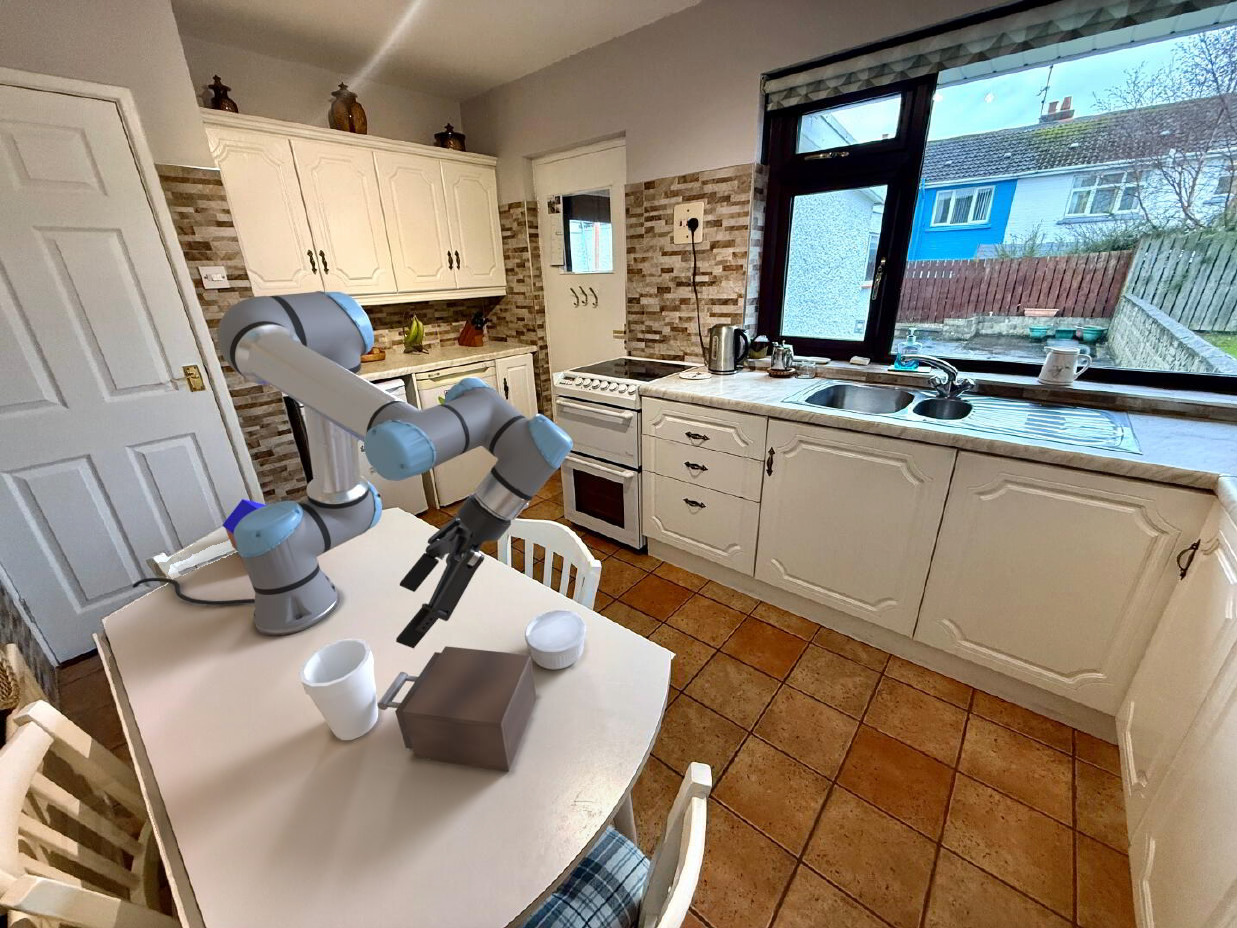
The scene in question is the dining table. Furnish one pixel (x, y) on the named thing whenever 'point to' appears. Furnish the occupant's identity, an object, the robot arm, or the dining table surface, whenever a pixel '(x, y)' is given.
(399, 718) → the drawer
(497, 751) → the cabinet
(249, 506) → the house
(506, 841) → the dining table surface
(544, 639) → the ramekin
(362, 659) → the foam cup
